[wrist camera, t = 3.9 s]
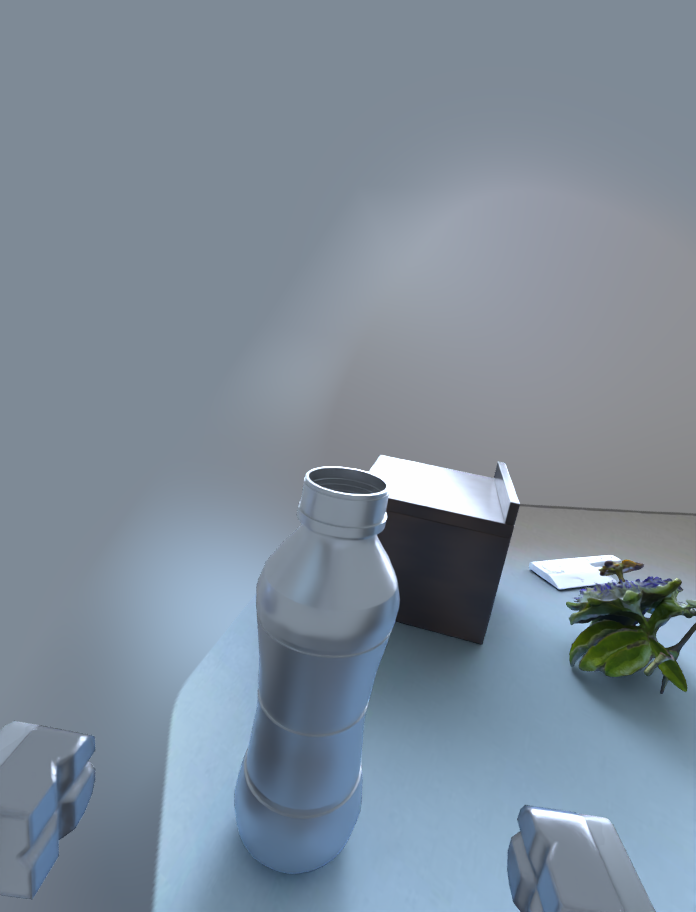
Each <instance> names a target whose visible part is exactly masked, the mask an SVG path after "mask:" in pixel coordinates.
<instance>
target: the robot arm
mask: <svg viewBox="0 0 696 912" xmlns="http://www.w3.org/2000/svg"><path fill="white" fill-rule="evenodd" d="M94 751H95V737H94V736H92V735H88V734H83V733H77V732H72V731H67V730H62V729H57V728H52V727H47V726H42V725H35V724H29V723H24V722H18V721H13V722H11V723H10V724H8V725H6V726H5V727H3V728H2V729H1V731H0V895H1V896H9V897H16V898H24V899H31V900H32V899H33V897H34V896H35V894H36V893H37V891H38V889H39V888H40V886H41V884H42V883H43V881H44V879H45V878H46V876H47V875H48V873H49V871H50V870H51V868H52V866H53V865H54V863H55V861H56V860H57V858H58V856H59V840H60V839H61V838H63V837H64V836H66V835H67V834H68V833H70V832H71V831H73V830H74V829H75V828H76V826H77V825H78V823H79V821H80V819H81V818H82V816H83V814H84V812H85V810H86V808H87V805H88V803H89V800H90V798H91V795H92V792H93V788H94V782H95V768H94V767H93V765H92V764H91V763H90V761H89V759H90V758H91V756H92V755H93V753H94ZM517 821H518V824H519V828H520V832H518V833H517V834H516V835H514V836H513V837H511V841H510V845H509V849H508V860H507V871H508V879H509V886H510V890H511V895H512V899H513V902H514V904H515V905H516V906H517V908H518V909H519V910H520V912H656V911H655V909H654V907H653V905H652V903H651V901H650V899H649V897H648V895H647V893H646V891H645V889H644V887H643V885H642V883H641V881H640V879H639V877H638V875H637V872H636V870H635V868H634V866H633V864H632V862H631V860H630V858H629V856H628V854H627V852H626V850H625V848H624V846H623V844H622V842H621V840H620V838H619V836H618V834H617V832H616V830H615V827H614V825H613V824H612V823H611V822H610V821H609V819H608V818H604V817H598V816H592V815H586V814H577V813H576V812H570V811H563V810H556V809H550V808H543V807H536V806H529V805H524V806H523V807H522V808H521V809H520V812H519V815H518V818H517Z"/></svg>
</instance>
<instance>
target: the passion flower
mask: <svg viewBox="0 0 696 912" xmlns="http://www.w3.org/2000/svg"><path fill="white" fill-rule="evenodd" d="M604 565H605V566H603V567H602V568H601V569H598V570H599V571H600V576H610V575H613V574H616V575H617V576H618V578H619V582H618V583H617V584H616V583H614V582H612V583H610V582H608V583H605V584H597V583H595V584H596V586H594V588H587V587H585V588H586V590H585V589H581V590H580V595H579V596H580V597H578V598H576V600H577V601H574V602H579V603H571V602H566V605H567V607H568V608H570V609H571V610H579V612H577V613H573V614H571V616H570V617H569V620H570V624H571V625H573V624H574V623H588V622H591V623H590V627H587V629H585V630H584V631H583V632H581V633H580V635H579V636H578V637H577V639H576V640H575V642H574V643H573V644H572V647H571V650H570V653H569V655H570V664H571V667H573V666H574V664H575V662H576V661H577V660H578V659H579V658H580V657H581V656H582V655H584V654H585V653H586V654H585V655H584V656H583V658H582V659H581V661H580V663H579V668H580V669H581V670H583V671H594V672H595V671H601V672H603V673H604V674H605V675H606V676H609V677H622V676H627V675H631V674H633V673H635V672H637V671H639V670H642V669H643V668H644V667H645V666H646V665H647V664H648V663H649V662H650V661H651V660H652V658H655V659H654V661H653V662H652V663H651V664H649V665H648V667H647V668H646V669H645V670H644V674H645V675H646V676H650V675H651V674H652V672H653V671H654V669H655V668H656V667H657V666H658V668H659V669H660V670H661V671H662V674H663V675H664V676H663V680H662V687H661V691H660V694H663V692H664V688H665V686H666V685H667V682H668V680H670V681H671V682H672V683H673V684H674V685H675V686H677V687H678V688H679V689H681V690H682V691H684V692H687V683H686V679H685V677H684V675H683V673H682V670H681V669H680V667H679V665H678V663H677V661H676V660H677V658H678V656H679V652H680V650H681V648H682V646H683V645H684V644H685V643H686V642H687V641H688V639H689V638H690V637H691V635H692V634H693V633H694V631H695V630H696V623H695V624H694V625H693V626H692V627H691V628H690V630H689V631H688V632H687V633H686V634H685V636H684V637H683V638H682V639H681V641H680V642H679V643H678V644H676V645H674V646H672V647H668V648H664V646H663V645H661V644H660V643H659V642H658V641H657V638H656V632H657V631H658V629H659V628H660V627H661V626H663V625H664V624H666V623H667V621H669V619H670V618H671V617H675V616H678V615H683V616H685V617H686V618H691V617H692V616H696V611H695V610H694V609H693V608H696V601H694V600H686V602H687V603H688V605H686V604H685V603H683V602H677V599H676V597H677V595H678V593H679V592H681V591H683V589H682V588H681V587H680V585H681V583H682V582H681V580H679V579H678V578H676V580H673V581H672V579H667V580H663V581H662V580H661V578H659V577H655V578H654V579H653V577H648V578H647V579H645V580H644V581H640V579H637V580H635V581H634V582H632V581H631V582H629V581H628V580H625V579H624V578H623V573H627V572H631V571H635V570H639V569H641V568H643V567H644V564H643V563H635V562H633V561H631V560H623V561H622V563H619V562H617V561H616V562H613V561H612V560H607V561H605V563H604ZM612 581H613V580H612ZM646 612H648V613H651V614H652V615H651V617H650V618H646V617H644V614H645V613H646ZM638 623H639V624H640V625H639V626H636V624H638Z"/></svg>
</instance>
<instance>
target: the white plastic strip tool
mask: <svg viewBox="0 0 696 912" xmlns="http://www.w3.org/2000/svg"><path fill="white" fill-rule="evenodd" d="M607 560H612V561H613V562H616V561H617V562H619V563H621V560H620V559H618V558H616V557H614V556H613V555H605V556H595V557H582V558H571V559H557V560H550V561H548V560H547V561H539V562H530V564H529V568H530V569H531V570H533V571H534V572H535V573H537V574H538V575H539V576H541V577H542V578H544V579H545V580H546V581H548V582H549V583H551V584H552V585H553V586H555V587H556V588H558V589H567V588H575V587H583V586H591V585H596V584H595V583H597V584H605V583H608V582H610V583H612V582H614V583H615V582H617V581H616V580H614V579H613V578H612V577H610V576H600V571H599V570H598V569H601V568H602V567H601V566H605V565H604V563H605V561H607ZM612 580H613V581H612Z"/></svg>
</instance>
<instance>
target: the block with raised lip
mask: <svg viewBox="0 0 696 912" xmlns="http://www.w3.org/2000/svg"><path fill="white" fill-rule="evenodd" d="M369 473H372V474H375V475H377V476H379V477H381V478H383V479H384V480H386V481H387V482H388V483H389V485H390V488H389V490H390V492H389V497H388V502H387V507H386V514H387V519H386V524H385V528H384V530H383V531H382V532H380V533H379V534H377V537H378V539H379V541H380V542H381V544H382V546H383V548H384V550H385V551H386V553H387V555H388V557H389V559H390V562H391V564H392V566H393V569H394V571H395V574H396V577H397V581H398V588H399V596H400V604H399V609H398V613H397V616H396V620H395V621H397V622H400V623H404V624H408V625H412V626H415V627H419V628H423V629H427V630H430V631H434V632H438V633H441V634H445V635H449V636H453V637H456V638H460V639H464V640H467V641H471V642H475V643H479V644H483V641H484V637H485V633H486V630H487V626H488V622H489V618H490V615H491V611H492V607H493V603H494V600H495V596H496V592H497V588H498V585H499V581H500V577H501V573H502V570H503V566H504V562H505V558H506V555H507V551H508V547H509V543H510V540H511V536H512V532H513V529H514V525H515V521H516V517H517V513H518V510H519V506H520V503H519V501H518V498H517V495H516V492H515V490H514V487H513V484H512V481H511V479H510V476H509V473H508V470H507V467H506V465H505V463H503V462H498V463H497V468H496V472H495V476H494V478H490V477H485V476H481V475H475V474H470V473H466V472H461V471H456V470H452V469H447V468H442V467H437V466H432V465H426V464H422V463H417V462H412V461H408V460H403V459H398V458H393V457H388V456H383V455H380V456H379V457H378V459H377V460H376V462H375V463H374V465H373V466H372V468H371V469H370V470H369Z"/></svg>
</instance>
